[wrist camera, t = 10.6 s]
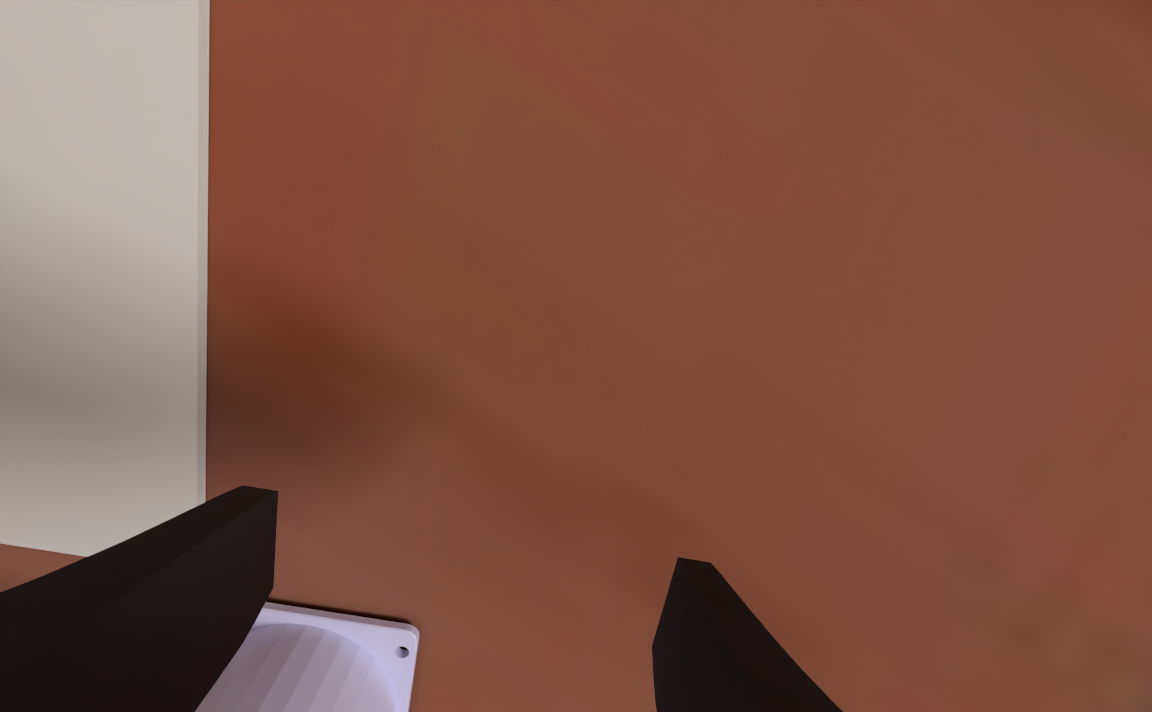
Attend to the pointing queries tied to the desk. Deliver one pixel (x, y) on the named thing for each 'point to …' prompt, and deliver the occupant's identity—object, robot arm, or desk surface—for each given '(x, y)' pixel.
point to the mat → (102, 268)
